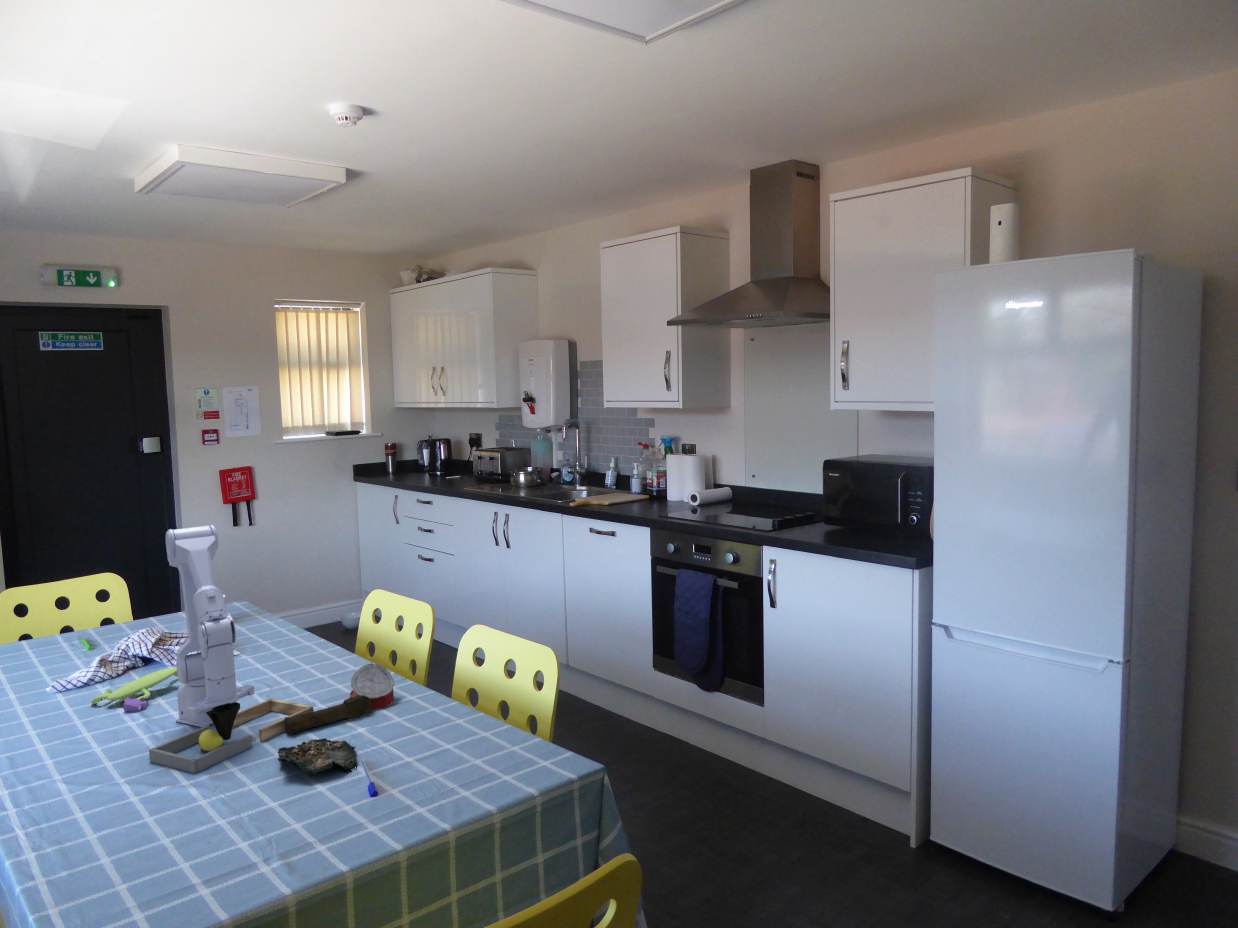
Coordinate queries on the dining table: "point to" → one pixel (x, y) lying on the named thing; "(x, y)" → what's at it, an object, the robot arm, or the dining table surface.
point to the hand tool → (329, 714)
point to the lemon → (210, 740)
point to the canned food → (373, 685)
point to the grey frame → (168, 758)
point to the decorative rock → (319, 755)
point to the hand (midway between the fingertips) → (225, 738)
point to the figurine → (137, 690)
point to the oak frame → (267, 707)
